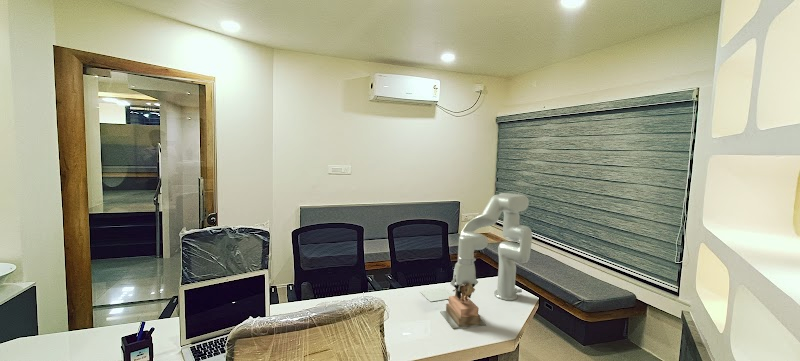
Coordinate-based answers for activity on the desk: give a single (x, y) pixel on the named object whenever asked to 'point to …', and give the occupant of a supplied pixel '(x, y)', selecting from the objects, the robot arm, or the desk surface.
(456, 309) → the block tower
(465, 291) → the lion figurine
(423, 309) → the desk surface
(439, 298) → the paper stack
